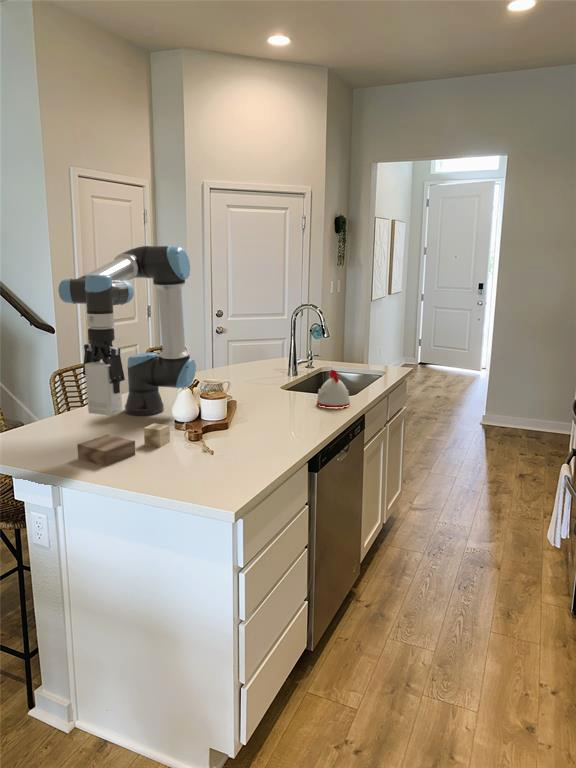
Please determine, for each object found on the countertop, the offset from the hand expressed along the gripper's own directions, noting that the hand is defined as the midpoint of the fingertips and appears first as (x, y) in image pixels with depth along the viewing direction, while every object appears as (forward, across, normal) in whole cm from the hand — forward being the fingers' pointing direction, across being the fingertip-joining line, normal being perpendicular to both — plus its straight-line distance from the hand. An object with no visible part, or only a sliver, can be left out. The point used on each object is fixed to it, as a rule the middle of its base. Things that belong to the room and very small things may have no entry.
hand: (104, 401), depth 178 cm
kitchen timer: (+18, +23, +100) cm, 104 cm away
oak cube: (+18, +3, +18) cm, 26 cm away
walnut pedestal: (+18, 0, 0) cm, 18 cm away
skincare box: (+4, 0, 0) cm, 4 cm away
